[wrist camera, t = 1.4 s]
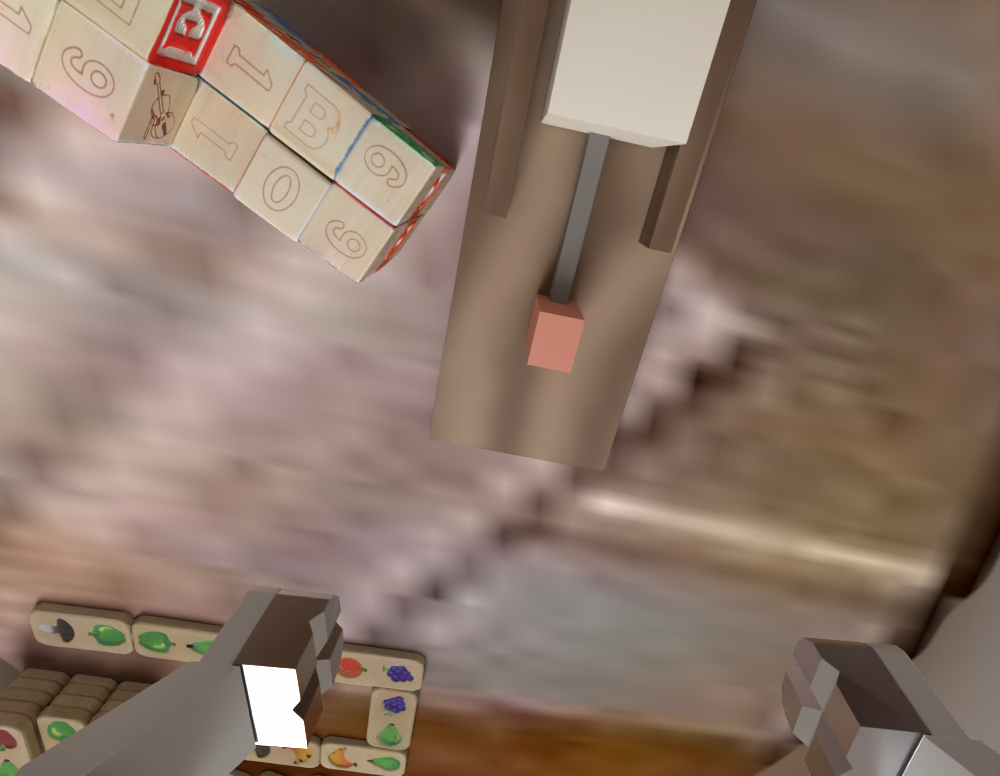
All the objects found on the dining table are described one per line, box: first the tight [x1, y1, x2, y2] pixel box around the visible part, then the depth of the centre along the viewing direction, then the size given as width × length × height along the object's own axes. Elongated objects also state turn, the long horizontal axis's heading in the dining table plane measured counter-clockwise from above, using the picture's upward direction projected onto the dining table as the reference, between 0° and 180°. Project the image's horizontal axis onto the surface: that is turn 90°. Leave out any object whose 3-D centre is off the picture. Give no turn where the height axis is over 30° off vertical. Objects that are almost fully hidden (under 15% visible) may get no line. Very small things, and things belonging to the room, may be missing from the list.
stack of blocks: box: [0, 0, 456, 284], centre depth 23 cm, size 21×6×12 cm, turn 52°
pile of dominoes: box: [0, 603, 425, 776], centre depth 47 cm, size 35×27×6 cm
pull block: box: [526, 0, 731, 373], centre depth 26 cm, size 6×19×6 cm, turn 169°
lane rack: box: [429, 0, 757, 471], centre depth 29 cm, size 12×28×5 cm, turn 169°
